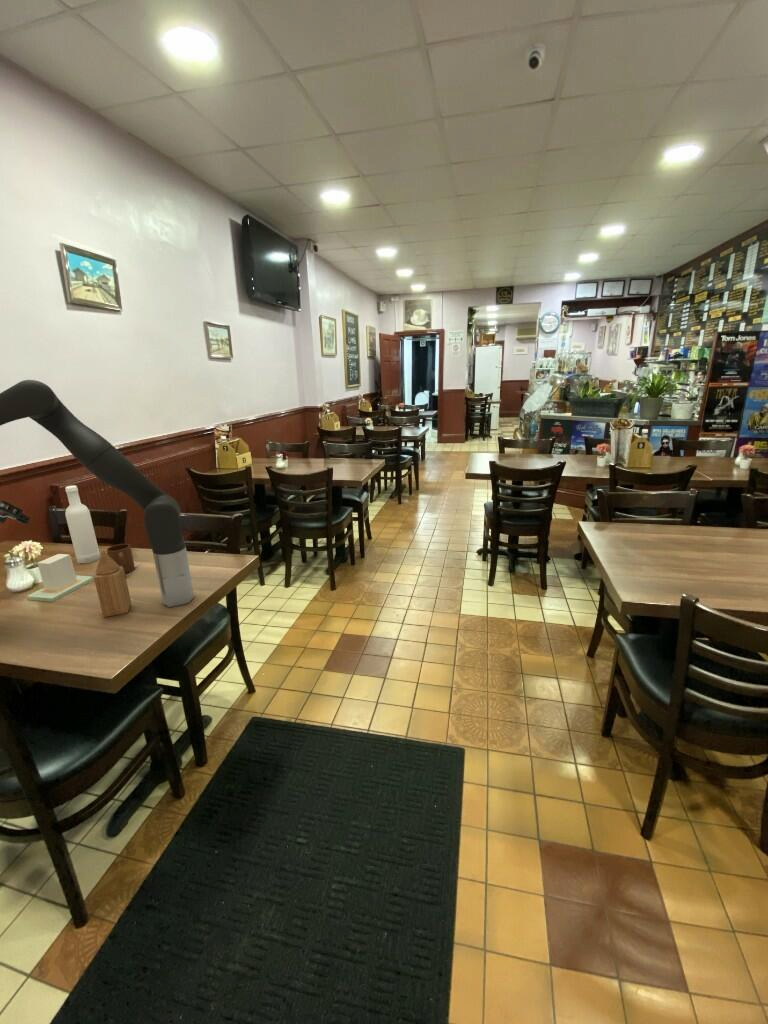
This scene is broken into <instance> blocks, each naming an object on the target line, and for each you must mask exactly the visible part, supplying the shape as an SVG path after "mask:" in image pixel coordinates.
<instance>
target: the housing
mask: <svg viewBox="0 0 768 1024" xmlns="http://www.w3.org/2000/svg"><path fill="white" fill-rule="evenodd" d="M37 567H38V569H39V573H40V577H41V581H42V585H43V588H45V591H56V592H57V591H59V590H61V589H63V588H65V587H67V586H69V585H71V584H73V583H75V582H77V579H76V575H77V574H76V572H75V569H74V568H75V567H74V564H73V561H72V557H71V554H66V553H65V554H63V553H57V554H55V555H53V556H50V557H48V558H46V559H43V560H41V561H39V562H37Z"/></svg>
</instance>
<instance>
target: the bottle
mask: <svg viewBox="0 0 768 1024" xmlns="http://www.w3.org/2000/svg"><path fill="white" fill-rule="evenodd" d="M64 489H65V493H66V495H67V496H66V497H67V499H68V504H69V505H68V507H66V509H65V514H64V515H65V519H66V523H67V527H68V530H69V535H70V537H71V542H72V545H73V546H72V547H73V550H74V553H75V554H74V555H75V559H76V561H77V563H78V564H80V563H82V565H84V564H83V563H86V564H90V563H89V562H91V563H94V562H93V561H95V562H96V560H97V561H98V559H99V560H100V558H101V552H100V550H99V546H98V541H97V537H96V533H95V528H94V524H93V520H92V516H91V512H90V509H89V508H88V506H87V505H85V504H83V503H82V502H81V498H80V494H79V488H78V485H67V486H66V487H65V488H64Z"/></svg>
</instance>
